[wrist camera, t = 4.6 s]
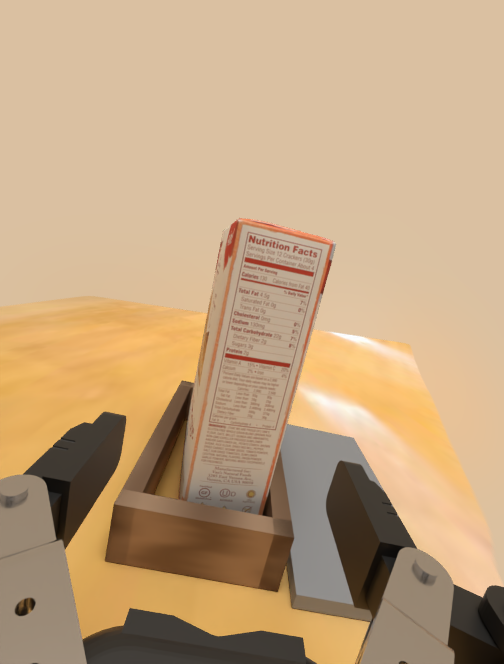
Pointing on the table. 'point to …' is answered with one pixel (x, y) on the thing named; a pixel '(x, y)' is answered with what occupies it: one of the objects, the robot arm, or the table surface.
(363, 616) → the flat gray rectangular board
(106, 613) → the table surface
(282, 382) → the cracker box
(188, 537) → the walnut collar
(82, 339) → the table surface
